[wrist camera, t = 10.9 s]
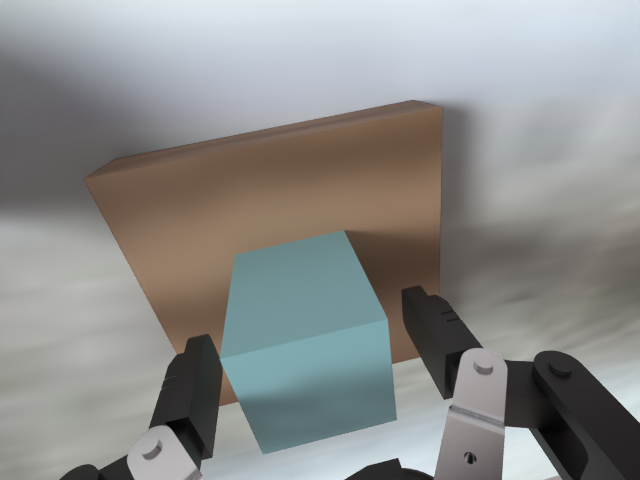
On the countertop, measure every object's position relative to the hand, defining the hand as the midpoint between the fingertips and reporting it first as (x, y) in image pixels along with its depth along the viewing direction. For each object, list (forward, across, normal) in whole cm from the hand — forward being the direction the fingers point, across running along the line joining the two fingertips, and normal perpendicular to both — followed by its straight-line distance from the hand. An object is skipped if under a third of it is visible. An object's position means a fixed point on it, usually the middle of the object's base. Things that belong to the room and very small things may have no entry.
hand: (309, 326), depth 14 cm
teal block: (+3, 0, 0) cm, 3 cm away
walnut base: (+6, 0, 0) cm, 6 cm away
